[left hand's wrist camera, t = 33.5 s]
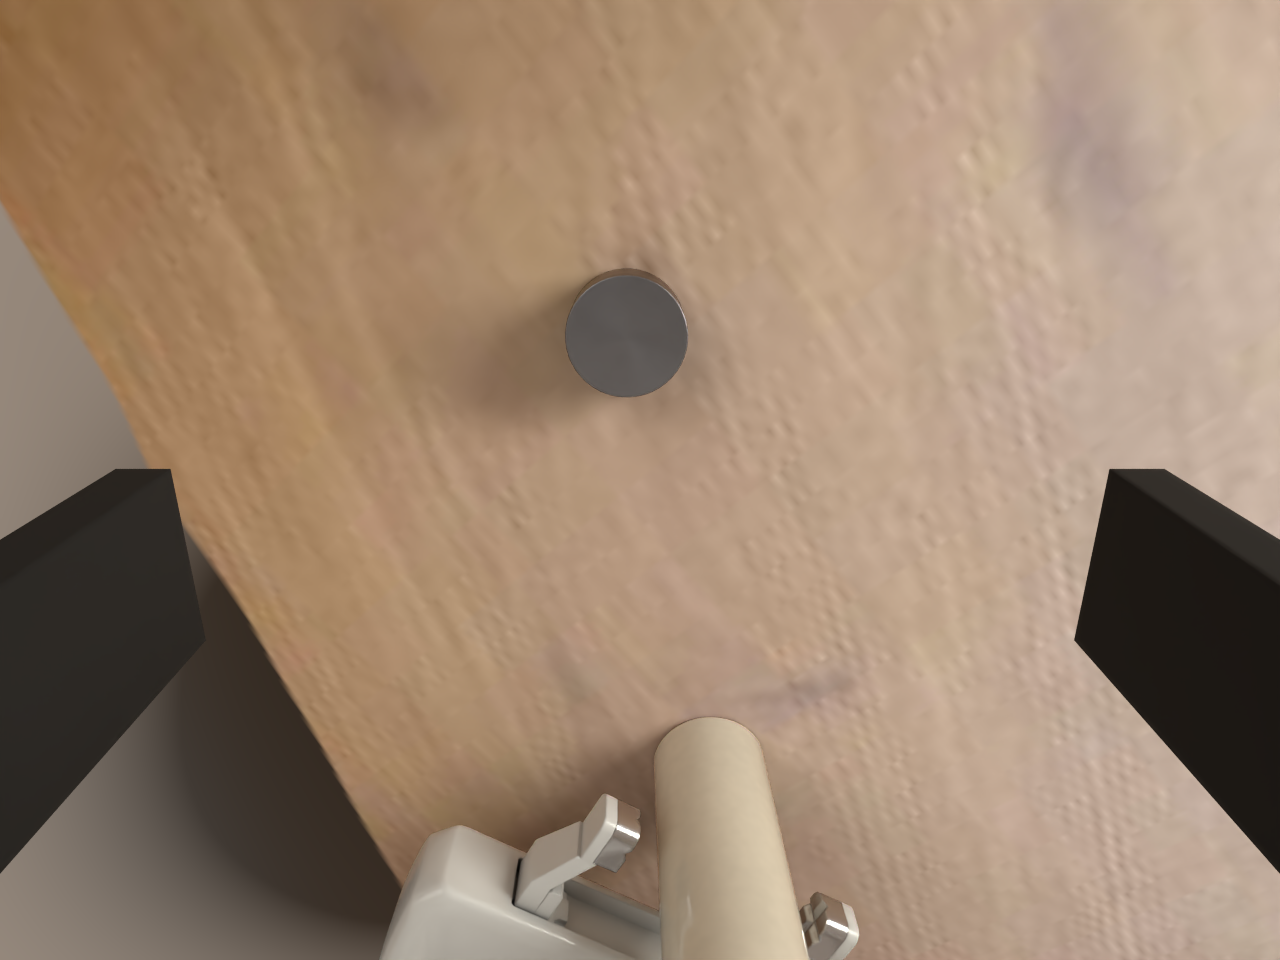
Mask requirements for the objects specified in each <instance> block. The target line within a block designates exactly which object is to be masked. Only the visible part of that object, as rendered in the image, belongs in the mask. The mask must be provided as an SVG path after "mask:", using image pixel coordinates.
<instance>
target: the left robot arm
mask: <svg viewBox="0 0 1280 960" xmlns="http://www.w3.org/2000/svg"><path fill="white" fill-rule="evenodd" d="M205 640H206V639H205V634H204V630H203V624H202V620H201V615H200V610H199V605H198V600H197V595H196V590H195V586H194V581H193V576H192V571H191V566H190V561H189V557H188V552H187V547H186V542H185V537H184V533H183V527H182V523H181V518H180V513H179V508H178V503H177V498H176V494H175V489H174V484H173V479H172V474H171V469H115V470H113V471H112V472H110V473H108V474H107V475H105V476H104V477H102V478H100V479H99V480H97V481H95V482H94V483H92V484H90V485H89V486H87V487H86V488H84V489H82V490H81V491H79V492H77V493H76V494H74V495H73V496H71V497H69V498H68V499H66V500H64V501H63V502H61V503H59V504H58V505H56V506H55V507H53V508H51V509H50V510H48V511H46V512H45V513H43V514H42V515H40V516H38V517H37V518H35V519H33V520H32V521H30V522H29V523H27V524H25V525H24V526H22V527H20V528H19V529H17V530H15V531H14V532H12V533H11V534H9V535H7V536H6V537H4V538H2V539H1V540H0V873H1V872H2V871H3V870H4V869H5V867H6V866H7V865H8V864H9V863H10V862H11V861H12V859H13V858H14V857H15V856H16V855H17V854H18V853H19V852H20V850H21V849H22V848H23V847H24V846H25V845H26V844H27V842H28V841H29V840H30V839H31V838H32V837H33V836H34V835H35V833H36V832H37V831H38V830H39V829H40V828H41V827H42V825H43V824H44V823H45V822H46V821H47V820H48V819H49V818H50V816H51V815H52V814H53V813H54V812H55V811H56V810H57V808H58V807H59V806H60V805H61V804H62V803H63V802H64V800H65V799H66V798H67V797H68V796H69V795H70V794H71V793H72V791H73V790H74V789H75V788H76V787H77V786H78V785H79V783H80V782H81V781H82V780H83V779H84V778H85V777H86V776H87V774H88V773H89V772H90V771H91V770H92V769H93V768H94V766H95V765H96V764H97V763H98V762H99V761H100V760H101V758H102V757H103V756H104V755H105V754H106V753H107V752H108V750H109V749H110V748H111V747H112V746H113V745H114V744H115V743H116V741H117V740H118V739H119V738H120V737H121V736H122V735H123V734H124V732H125V731H126V730H127V729H128V728H129V727H130V726H131V724H132V723H133V722H134V721H135V720H136V719H137V718H138V717H139V715H140V714H141V713H142V712H143V711H144V710H145V709H146V707H147V706H148V705H149V704H150V703H151V702H152V701H153V700H154V698H155V697H156V696H157V695H158V694H159V693H160V692H161V690H162V689H163V688H164V687H165V686H166V685H167V684H168V682H169V681H170V680H171V679H172V678H173V677H174V676H175V675H176V673H177V672H178V671H179V670H180V669H181V668H182V667H183V665H184V664H185V663H186V662H187V661H188V660H189V659H190V657H191V656H192V655H193V654H194V653H195V652H196V651H197V650H198V648H199V647H200V646H201V645H202V644H203V643H204V642H205ZM1074 641H1075V642H1076V643H1077V644H1078V645H1079V646H1080V647H1081V648H1082V650H1083V651H1084V652H1085V653H1086V654H1087V655H1088V656H1089V658H1090V659H1091V660H1092V661H1093V662H1094V663H1095V664H1096V665H1097V667H1098V668H1099V669H1100V670H1101V671H1102V672H1103V673H1104V675H1105V676H1106V677H1107V678H1108V679H1109V680H1110V681H1111V682H1112V684H1113V685H1114V686H1115V687H1116V688H1117V689H1118V690H1119V692H1120V693H1121V694H1122V695H1123V696H1124V697H1125V698H1126V700H1127V701H1128V702H1129V703H1130V704H1131V705H1132V706H1133V707H1134V709H1135V710H1136V711H1137V712H1138V713H1139V714H1140V715H1141V717H1142V718H1143V719H1144V720H1145V721H1146V722H1147V723H1148V724H1149V726H1150V727H1151V728H1152V729H1153V730H1154V731H1155V732H1156V734H1157V735H1158V736H1159V737H1160V738H1161V739H1162V740H1163V741H1164V743H1165V744H1166V745H1167V746H1168V747H1169V748H1170V749H1171V751H1172V752H1173V753H1174V754H1175V755H1176V756H1177V757H1178V759H1179V760H1180V761H1181V762H1182V763H1183V764H1184V765H1185V766H1186V768H1187V769H1188V770H1189V771H1190V772H1191V773H1192V774H1193V776H1194V777H1195V778H1196V779H1197V780H1198V781H1199V782H1200V783H1201V785H1202V786H1203V787H1204V788H1205V789H1206V790H1207V791H1208V793H1209V794H1210V795H1211V796H1212V797H1213V798H1214V799H1215V801H1216V802H1217V803H1218V804H1219V805H1220V806H1221V807H1222V808H1223V810H1224V811H1225V812H1226V813H1227V814H1228V815H1229V816H1230V818H1231V819H1232V820H1233V821H1234V822H1235V823H1236V824H1237V825H1238V827H1239V828H1240V829H1241V830H1242V831H1243V832H1244V833H1245V835H1246V836H1247V837H1248V838H1249V839H1250V840H1251V841H1252V842H1253V844H1254V845H1255V846H1256V847H1257V848H1258V849H1259V850H1260V852H1261V853H1262V854H1263V855H1264V856H1265V857H1266V858H1267V860H1268V861H1269V862H1270V863H1271V864H1272V865H1273V866H1274V867H1275V869H1276V870H1277V871H1278V872H1279V873H1280V540H1279V539H1278V538H1276V537H1274V536H1273V535H1271V534H1269V533H1268V532H1266V531H1265V530H1263V529H1261V528H1260V527H1258V526H1256V525H1255V524H1253V523H1252V522H1250V521H1248V520H1247V519H1245V518H1243V517H1242V516H1240V515H1238V514H1237V513H1235V512H1234V511H1232V510H1230V509H1229V508H1227V507H1225V506H1224V505H1222V504H1221V503H1219V502H1217V501H1216V500H1214V499H1212V498H1211V497H1209V496H1208V495H1206V494H1204V493H1203V492H1201V491H1199V490H1198V489H1196V488H1194V487H1193V486H1191V485H1190V484H1188V483H1186V482H1185V481H1183V480H1181V479H1180V478H1178V477H1177V476H1175V475H1173V474H1172V473H1170V472H1168V471H1167V470H1165V469H1109V474H1108V479H1107V484H1106V489H1105V494H1104V498H1103V503H1102V508H1101V513H1100V518H1099V523H1098V527H1097V532H1096V537H1095V542H1094V547H1093V552H1092V557H1091V561H1090V566H1089V571H1088V576H1087V581H1086V586H1085V591H1084V595H1083V600H1082V605H1081V610H1080V615H1079V620H1078V624H1077V629H1076V634H1075V639H1074Z"/></svg>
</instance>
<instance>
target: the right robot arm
mask: <svg viewBox="0 0 1280 960" xmlns="http://www.w3.org/2000/svg"><path fill="white" fill-rule="evenodd" d="M640 817H641V813H640V810H639V809H638V808H636V807H634V806H632V805H630V804H627V803H625V802H623V801H621V800H619V799H616V798H614V797H612V796H610V795H608V794H606V793H604V794H603V795H602V796H601V797H600V798H599V800H598V801H597V803H596V804H595V806H594V807H593V808H592V810H591V811H590V813H589V814H588V816H587V817H586V819H585V820H584V821H583V822H581V821H579V822H576V823H574V824H571V825H569V826H567V827H564V828H562V829H559V830H557V831H555V832H552V833H550V834H547V835H545V836H543V837H540V838H538V839H536V840H535V842H534V843H533V845H532V846H531V848H530V849H529V851H528V852H527V853H526V852H523V851H521V850H519V849H517V848H514V847H512V846H510V845H507V844H505V843H503V842H501V841H498V840H496V839H494V838H491V837H489V836H487V835H485V834H482V833H480V832H478V831H476V830H474V829H472V828H469V827H467V826H464V825H456V826H452V827H449V828H446V829H443V830H440V831H437V832H434V833H432V834H431V835H429V837H428V838H427V839H426V841H425V842H424V844H423V845H422V847H421V849H420V851H419V853H418V855H417V857H416V858H415V860H414V862H413V865H412V867H411V869H410V871H409V873H408V876H407V878H406V880H405V883H404V885H403V888H402V891H401V894H400V896H399V900H398V902H397V905H396V908H395V911H394V914H393V917H392V920H391V923H390V926H389V929H388V932H387V935H386V938H385V941H384V944H383V948H382V951H381V954H380V958H379V960H661V941H660V916H659V911H658V910H656V909H654V908H651V907H649V906H647V905H645V904H642V903H640V902H638V901H635V900H633V899H631V898H629V897H626V896H624V895H622V894H619V893H617V892H615V891H613V890H610V889H608V888H606V887H603V886H601V885H599V884H597V883H594V882H592V881H590V880H587V879H585V878H583V877H581V876H578V875H579V874H581V873H583V872H585V871H587V870H589V869H590V868H592V867H594V866H596V865H598V866H601V867H603V868H606V869H608V870H611V871H613V872H617V871H618V870H619V868H620V867H621V866H622V864H623V863H624V862H625V854H627V853H629V852H632V851H633V849H634V848H635V846H636V844H637V842H638V840H639V837H640V833H641V825H640V823H639V822H638V820H639V818H640ZM799 912H800V916H801V921H802V925H803V930H804V934H805V938H806V943H807V947H808V952H809V956H810V960H843V959H844V958H845V957H846V956H847V955H848V954H849V952H850V951H851V950H852V949H853V948H854V947H855V945H856V944H857V941H858V937H859V928H858V925H857V922H856V918H855V915H854V912H853V908H852V907H850V906H849V905H847V904H845V903H843V902H840V901H838V900H836V899H833V898H831V897H829V896H826V895H824V894H822V893H819V892H816V893H814V894H813V895H812V897H811V898H810V904H807V905H805V906H803V907H802V909H801V910H800V911H799Z"/></svg>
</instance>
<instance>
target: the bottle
mask: <svg viewBox="0 0 1280 960" xmlns="http://www.w3.org/2000/svg"><path fill="white" fill-rule="evenodd" d="M653 765H654V791H655V816H656V841H657V866H658V891H659V916H660V941H661V960H810V956H809V952H808V947H807V943H806V938H805V934H804V930H803V925H802V921H801V916H800V912H799V908H798V903H797V899H796V894H795V890H794V885H793V881H792V877H791V872H790V868H789V863H788V859H787V855H786V850H785V846H784V841H783V837H782V833H781V828H780V824H779V819H778V815H777V811H776V806H775V802H774V797H773V793H772V789H771V784H770V780H769V775H768V771H767V767H766V762H765V758H764V753H763V750H762V747H761V745H760V743H759V741H758V740H757V738H756V737H755V736H754V735H753V734H752V733H751V732H750V731H749V730H748V729H747V728H745V727H744V726H742V725H741V724H739V723H736V722H734V721H732V720H728V719H724V718H719V717H703V718H697V719H693V720H690V721H687V722H684V723H682V724H680V725H678V726H677V727H675V728H674V729H672V730H671V731H670V732H669V733H668V734H667V735H666V736H665V737H664V738H663V739H662V741H661V742H660V744H659V746H658V748H657V750H656V753H655V756H654V763H653Z"/></svg>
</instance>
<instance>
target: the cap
mask: <svg viewBox="0 0 1280 960" xmlns="http://www.w3.org/2000/svg"><path fill="white" fill-rule="evenodd" d="M565 342H566V349H567V352H568V356H569V358H570V361H571V363H572V365H573V366H574V368H575V370H576V371H577V373H578V374H579V375H580V376H581V377H582V378H583V379H584V380H585V381H586V382H587V383H588V384H589V385H591V386H592V387H593V388H595V389H597V390H599V391H601V392H603V393H606V394H609V395H612V396H618V397H636V396H641V395H645V394H648V393H650V392H653V391H655V390H657V389H658V388H660V387H661V386H663V385H664V384H666V383H667V382H668V381H669V380H670V379H671V378H672V377H673V376H674V374H675V373H676V372H677V370H678V369H679V367H680V366H681V364H682V361H683V359H684V356H685V353H686V350H687V344H688V330H687V324H686V319H685V316H684V313H683V311H682V308H681V305H680V303H679V301H678V299H677V297H676V295H675V294H674V293H673V291H672V290H671V289H670V288H669V287H668V286H667V284H665V283H664V282H663V281H662V280H661V279H659V278H657V277H656V276H654V275H652V274H650V273H648V272H645V271H641V270H637V269H616V270H612V271H608V272H606V273H603V274H601V275H599V276H597V277H596V278H594V279H593V280H591V281H590V282H589V283H588V284H587V285H586V286H585V287H584V288H583V289H582V290H581V292H580V293H579V294H578V296H577V298H576V299H575V301H574V304H573V306H572V309H571V311H570V314H569V316H568V320H567V324H566V331H565Z"/></svg>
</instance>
